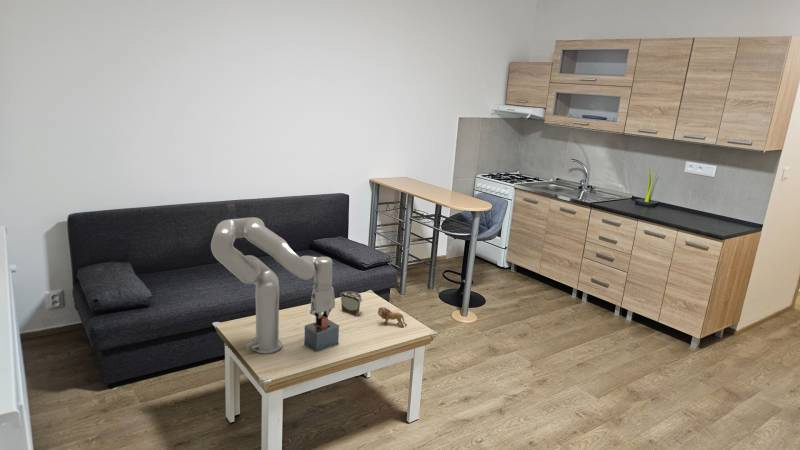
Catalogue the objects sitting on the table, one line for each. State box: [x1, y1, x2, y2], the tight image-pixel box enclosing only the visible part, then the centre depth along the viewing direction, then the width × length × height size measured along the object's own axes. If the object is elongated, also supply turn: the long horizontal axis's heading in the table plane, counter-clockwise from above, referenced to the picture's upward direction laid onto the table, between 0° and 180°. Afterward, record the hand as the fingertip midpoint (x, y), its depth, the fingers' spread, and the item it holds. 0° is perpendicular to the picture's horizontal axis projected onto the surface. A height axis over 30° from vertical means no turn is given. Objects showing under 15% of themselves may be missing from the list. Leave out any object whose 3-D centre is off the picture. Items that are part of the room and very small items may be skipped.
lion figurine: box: [377, 306, 408, 329], centre depth 257 cm, size 15×5×9 cm, turn 88°
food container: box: [339, 291, 363, 318], centre depth 268 cm, size 12×6×10 cm, turn 58°
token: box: [316, 314, 329, 329], centre depth 232 cm, size 3×4×6 cm, turn 45°
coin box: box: [303, 319, 340, 353], centre depth 233 cm, size 12×9×9 cm
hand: (321, 324), depth 232 cm, fingers closed on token, 2 cm apart
